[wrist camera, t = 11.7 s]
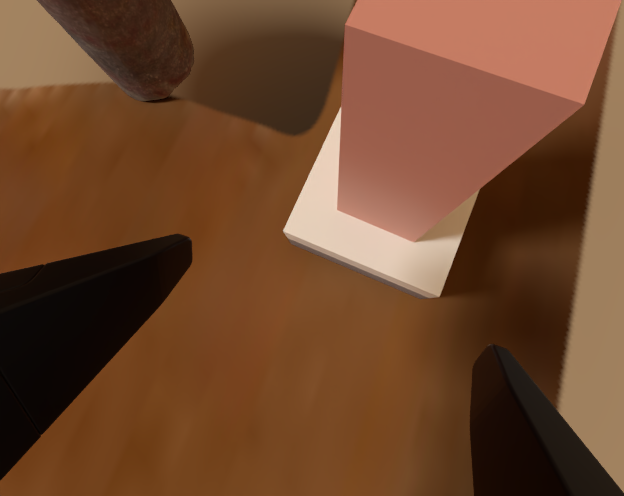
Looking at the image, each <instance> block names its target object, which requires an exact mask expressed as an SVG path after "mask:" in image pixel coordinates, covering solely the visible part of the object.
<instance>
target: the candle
mask: <svg viewBox="0 0 624 496" xmlns="http://www.w3.org/2000/svg"><path fill="white" fill-rule="evenodd" d="M37 1H38V2H39V3H40V4H41V5H42V6H43V7H44V8H45V10H46V11H47V12H48V13H49V14H50V15H51V16H52V17H53V18H54V19H55V20H56V21H57V22H58V23H59V24H60V25H61V26H62V27H63V28H64V29H65V31H66V32H67V33H68V34H69V35H70V36H71V37H72V38H73V39H74V40H75V41H76V42H77V43H78V44H79V46H80V47H81V48H82V49H83V50H84V51H85V52H86V53H87V54H88V55H89V56H90V57H91V58H92V59H93V60H94V61H95V62H96V63H97V64H98V65H99V66H100V67H101V68H102V70H104V72H106V74H107V75H109V77H110V78H111V79H112V80H113V81H114V82H115V83H116V84H117V85H118V86H119V87H120V88H121V89H122V90H123V91H124V92H125V93H126V94H128V95H129V96H130V97H132V98H134V99H137V100H140V101H150V100H157V99H163V98H166V97H168V96H169V95H170V94H171V93H172V91H173V90H174V88H176V87H178V85H179V84H180V83H181V82H182V81H183V80H184V79H185V78H186V77H187V76H188V75H189V74H190V71H191V67H192V65H193V63H194V56H193V54H194V50H193V44H192V41H191V39H190V36H189V33H188V31H187V29H186V27H185V26H184V24H183V22H182V20H181V18H180V16H179V14H178V12H177V10H176V9H175V7H174V5H173V3H172V2H171V0H37Z"/></svg>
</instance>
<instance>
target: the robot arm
mask: <svg viewBox="0 0 624 496" xmlns="http://www.w3.org/2000/svg"><path fill="white" fill-rule="evenodd" d="M191 263H192V241H191V239H190V238H189V237H187V236H184V235H181V234H174V235H169V236H165V237H160V238H156V239H152V240H147V241H143V242H138V243H134V244H130V245H125V246H121V247H117V248H112V249H108V250H103V251H99V252H95V253H90V254H86V255H81V256H77V257H73V258H68V259H64V260H60V261H55V262H51V263H47V264H45V265H43V264H42V265H37V266H33V267H29V268H24V269H20V270H15V271H10V272H6V273H1V274H0V480H1V479H2V478H3V477H4V476H5V475H6V474H7V473H8V472H9V471H10V470H11V468H12V467H13V466H14V465H15V464H16V463H17V462H18V461H19V460H20V459H21V458H22V456H23V455H24V454H25V453H26V452H27V451H28V450H29V449H30V448H31V447H32V446H33V444H34V443H35V442H36V441H37V440H38V439H39V438H40V437H41V435H42V434H43V433H44V432H45V431H46V430H47V429H48V428H49V427H50V426H51V424H52V423H53V422H54V421H55V420H56V419H57V418H58V417H59V416H60V415H61V414H62V412H63V411H64V410H65V409H66V408H67V407H68V406H69V405H70V404H71V403H72V402H73V400H74V399H75V398H76V397H77V396H78V395H79V394H80V393H81V392H82V391H83V390H84V388H85V387H86V386H87V385H88V384H89V383H90V382H91V381H92V380H93V379H94V378H95V376H96V375H97V374H98V373H99V372H100V371H101V370H102V369H103V368H104V367H105V365H106V364H107V363H108V362H109V361H110V360H111V359H112V358H113V357H114V356H115V355H116V353H117V352H118V351H119V350H120V349H121V348H122V347H123V346H124V345H125V344H126V343H127V341H128V340H129V339H130V338H131V337H132V336H133V335H134V334H135V333H136V332H137V331H138V329H139V328H140V327H141V326H142V325H143V324H144V323H145V322H146V321H147V320H148V319H149V317H150V316H151V315H152V314H153V313H154V312H155V311H156V310H157V309H158V308H159V306H160V305H161V304H162V303H163V302H164V300H165V299H166V298H167V297H168V295H169V294H170V293H171V291H172V290H173V288H174V287H175V286H176V284H177V283H178V282H179V280H180V279H181V278H182V276H183V275H184V274H185V272H186V271H187V269H188V268H189V267H190V265H191ZM470 440H471V456H472V471H473V487H474V496H624V493H623V491H622V490H621V489H620V488H619V486H618V485H617V484H616V483H615V482H614V480H613V479H612V478H611V477H610V475H609V474H608V473H607V472H606V470H605V469H604V468H603V467H602V466H601V464H600V463H599V462H598V460H597V459H596V458H595V457H594V456H593V454H592V453H591V452H590V451H589V449H588V448H587V447H586V446H585V445H584V443H583V442H582V441H581V439H580V438H579V437H578V436H577V435H576V433H575V432H574V431H573V430H572V428H571V427H570V426H569V425H568V423H567V422H566V421H565V420H564V419H563V417H562V416H561V415H560V413H559V412H558V411H557V410H556V409H555V407H554V406H553V405H552V404H551V402H550V401H549V400H548V399H547V397H546V396H545V395H544V394H543V392H542V391H541V390H540V389H539V388H538V386H537V385H536V384H535V383H534V381H533V380H532V379H531V378H530V376H529V375H528V374H527V373H526V371H525V370H524V369H523V368H522V366H521V365H520V364H519V363H518V362H517V360H516V359H515V358H514V357H513V355H512V354H511V353H510V352H509V351H508V350H507V349H506V348H503V347H500V346H497V345H495V344H489V345H488V346H487V347H486V348H485V349H484V351H483V352H482V353H481V355H480V356H479V357H478V359H477V360H476V361H475V363H474V366H473V370H472V388H471V406H470Z"/></svg>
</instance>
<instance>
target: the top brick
mask: <svg viewBox="0 0 624 496" xmlns="http://www.w3.org/2000/svg"><path fill="white" fill-rule="evenodd" d="M621 1H622V0H357V2H356V4H355V6H354V8H353V10H352V12H351V14H350V16H349V18H348V19H347V22H346V23H345V34H344V57H343V81H342V104H341V127H340V151H339V174H338V197H337V210H338V211H341V212H343V213H345V214H348V215H350V216H352V217H355V218H357V219H360V220H362V221H364V222H367V223H369V224H371V225H374V226H376V227H378V228H381V229H383V230H386V231H388V232H390V233H393V234H395V235H397V236H400V237H402V238H404V239H407V240H409V241H412V242H415V241H416V240H417V239H418V238H420V237H421V236H422V235H423V234H425V233H426V232H427V231H428V230H430V229H431V228H432V227H433V226H435V225H436V224H437V223H438V222H439V221H441V220H442V219H443V218H444V217H446V216H447V215H448V214H449V213H451V212H452V211H453V210H454V209H456V208H457V207H458V206H459V205H461V204H462V203H463V202H464V201H465V200H467V199H468V198H469V197H470V196H472V195H473V194H474V193H475V192H477V191H478V190H479V189H480V188H482V187H483V186H484V185H485V184H487V183H488V182H489V181H490V180H491V179H493V178H494V177H495V176H496V175H498V174H499V173H500V172H501V171H503V170H504V169H505V168H506V167H508V166H509V165H510V164H511V163H512V162H514V161H515V160H516V159H517V158H519V157H520V156H521V155H522V154H524V153H525V152H526V151H527V150H529V149H530V148H531V147H532V146H534V145H535V144H536V143H537V142H538V141H540V140H541V139H542V138H543V137H545V136H546V135H547V134H548V133H550V132H551V131H552V130H553V129H555V128H556V127H557V126H558V125H560V124H561V123H562V122H563V121H564V120H566V119H567V118H568V117H569V116H571V115H572V114H573V113H574V112H576V111H577V110H578V109H579V108H581V107H582V106H583V105H584V104H585V101H586V98H587V96H588V93H589V90H590V87H591V84H592V82H593V79H594V76H595V73H596V70H597V68H598V65H599V62H600V59H601V57H602V54H603V51H604V48H605V45H606V43H607V40H608V37H609V34H610V31H611V29H612V26H613V23H614V20H615V18H616V15H617V12H618V9H619V6H620V4H621Z"/></svg>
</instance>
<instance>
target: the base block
mask: <svg viewBox="0 0 624 496" xmlns="http://www.w3.org/2000/svg"><path fill="white" fill-rule="evenodd" d="M340 127H341V108H340V110H339V112H338V114H337V116H336V119H335V121H334V123H333V125H332V127H331V129H330V131H329V134H328V136H327V138H326V140H325V142H324V144H323V146H322V149H321V151H320V153H319V155H318V157H317V159H316V162H315V164H314V166H313V168H312V170H311V172H310V174H309V177H308V179H307V181H306V183H305V185H304V187H303V189H302V192H301V194H300V196H299V198H298V200H297V202H296V204H295V207H294V209H293V211H292V213H291V215H290V217H289V219H288V222H287V224H286V226H285V228H284V230H283V232H284V233H285V235H286V236H287V238H288V239H289V241H290V243H291V244H293V245H295V246H297V247H300V248H302V249H304V250H307V251H309V252H311V253H314V254H316V255H318V256H321V257H323V258H326V259H328V260H330V261H333V262H335V263H337V264H340V265H342V266H344V267H347V268H349V269H351V270H354V271H356V272H358V273H361V274H363V275H365V276H368V277H370V278H373V279H375V280H377V281H380V282H382V283H384V284H387V285H389V286H391V287H394V288H396V289H398V290H401V291H403V292H405V293H408V294H410V295H412V296H415V297H417V298H419V299H425V298H435V297H440V294H441V292H442V289H443V286H444V284H445V281H446V278H447V276H448V273H449V270H450V268H451V265H452V262H453V260H454V257H455V254H456V252H457V249H458V246H459V244H460V241H461V238H462V235H463V233H464V230H465V227H466V225H467V222H468V219H469V217H470V214H471V211H472V209H473V206H474V203H475V201H476V198H477V195H478V193H479V190H480V189H479V190H478V191H477V192H475V193H474V194H473V195H472V196H470V197H469V198H468V199H467V200H465V201H464V202H463V203H462V204H461V205H459V206H458V207H457V208H456V209H454V210H453V211H452V212H451V213H449V214H448V215H447V216H446V217H444V218H443V219H442V220H441V221H439V222H438V223H437V224H436V225H435V226H433V227H432V228H431V229H430V230H428V231H427V232H426V233H425V234H423V235H422V236H421V237H420V238H418V239H417V240H416V241H415V242H412V241H409V240H407V239H404V238H402V237H400V236H397V235H395V234H393V233H390V232H388V231H386V230H383V229H381V228H378V227H376V226H374V225H371V224H369V223H367V222H364V221H362V220H360V219H357V218H355V217H352V216H350V215H348V214H345V213H343V212H341V211H338V210H337V197H338V174H339V151H340Z"/></svg>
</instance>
